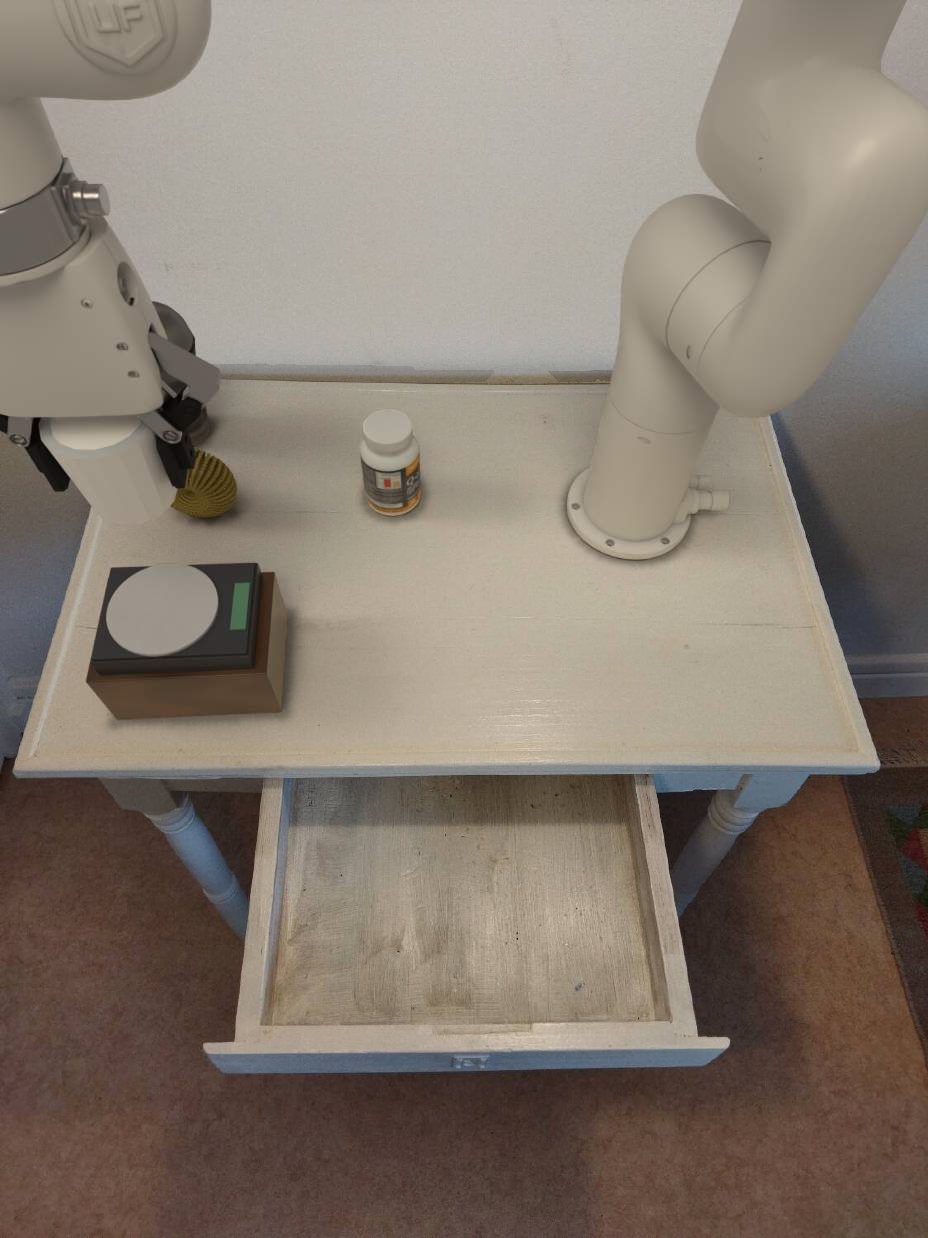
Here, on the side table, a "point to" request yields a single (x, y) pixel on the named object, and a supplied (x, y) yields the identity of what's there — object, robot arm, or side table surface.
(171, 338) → the beverage cup
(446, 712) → the side table surface
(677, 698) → the side table surface
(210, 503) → the sculpture
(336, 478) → the side table surface
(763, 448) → the side table surface
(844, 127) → the robot arm
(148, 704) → the walnut riser
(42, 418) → the white cup
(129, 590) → the kitchen scale
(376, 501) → the pill bottle
